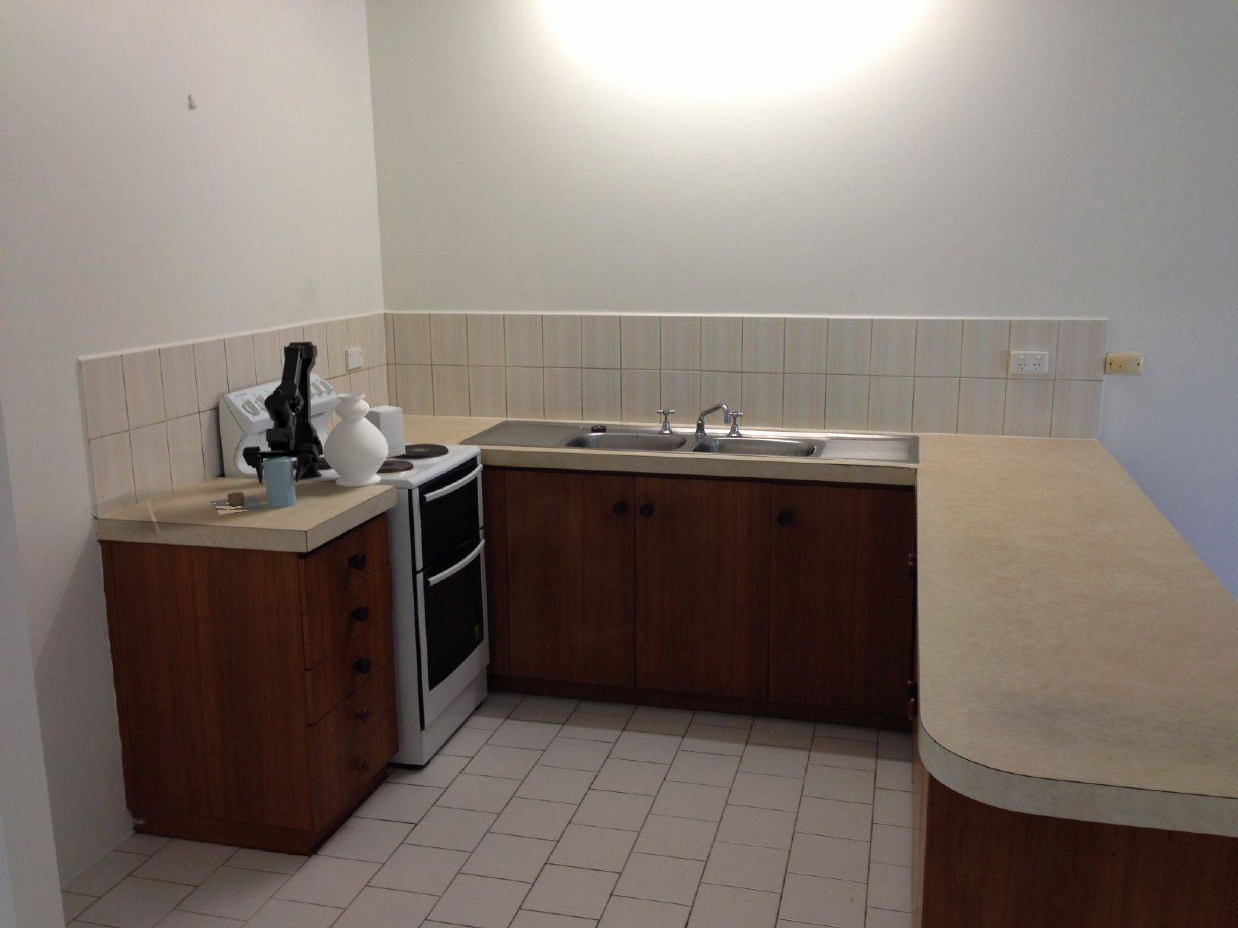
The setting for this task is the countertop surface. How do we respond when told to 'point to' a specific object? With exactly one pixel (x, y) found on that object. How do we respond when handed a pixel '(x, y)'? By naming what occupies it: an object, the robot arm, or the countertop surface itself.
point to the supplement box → (389, 427)
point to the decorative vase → (355, 443)
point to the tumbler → (279, 482)
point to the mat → (249, 505)
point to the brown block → (236, 499)
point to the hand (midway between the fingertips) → (278, 482)
